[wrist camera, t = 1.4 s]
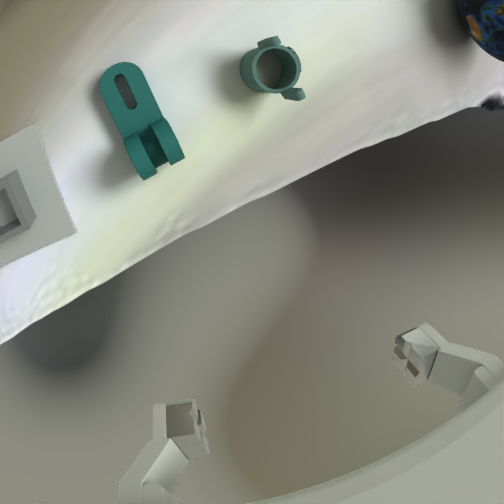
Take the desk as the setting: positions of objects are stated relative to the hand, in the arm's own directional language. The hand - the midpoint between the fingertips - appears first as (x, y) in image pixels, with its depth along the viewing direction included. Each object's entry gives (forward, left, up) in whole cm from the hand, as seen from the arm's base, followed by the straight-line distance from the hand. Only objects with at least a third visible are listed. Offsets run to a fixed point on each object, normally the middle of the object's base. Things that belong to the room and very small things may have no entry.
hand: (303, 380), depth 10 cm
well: (-1, -28, -43) cm, 51 cm away
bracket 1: (-6, -2, -43) cm, 44 cm away
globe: (-32, +92, -43) cm, 107 cm away
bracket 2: (-9, +20, -43) cm, 49 cm away
